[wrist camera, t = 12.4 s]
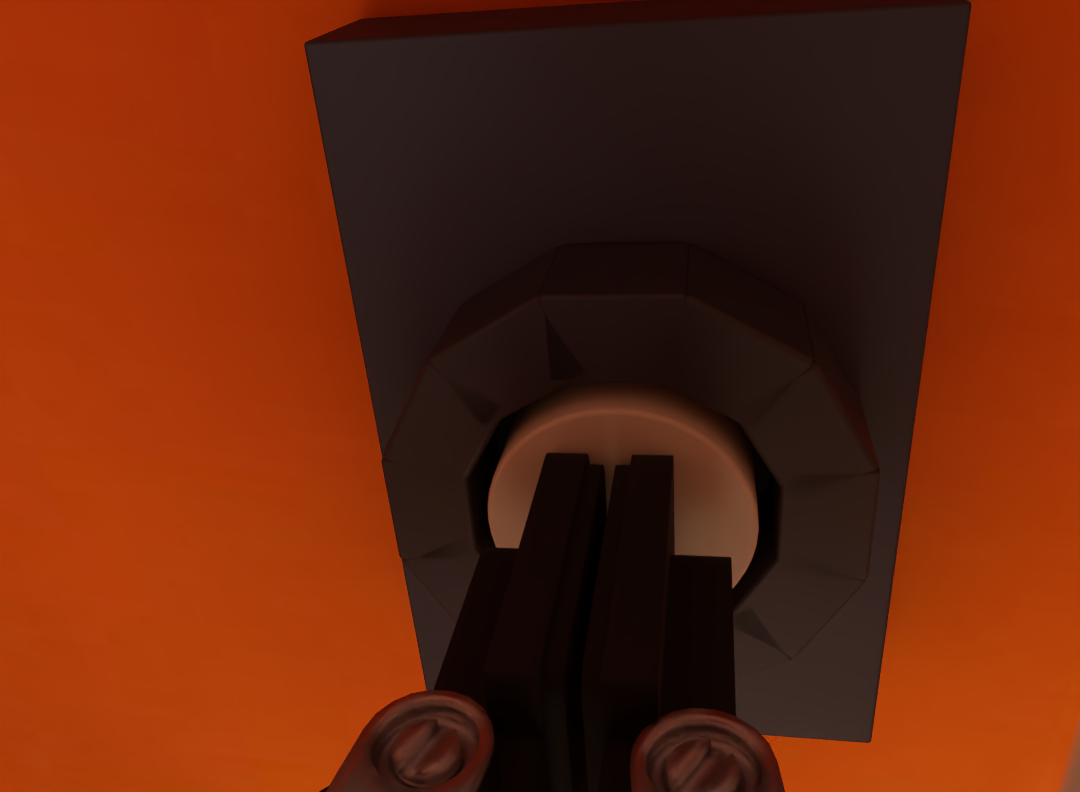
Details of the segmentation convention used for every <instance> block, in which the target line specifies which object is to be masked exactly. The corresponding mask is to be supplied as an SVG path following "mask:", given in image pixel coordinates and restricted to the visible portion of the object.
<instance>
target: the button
mask: <svg viewBox="0 0 1080 792" xmlns="http://www.w3.org/2000/svg"><path fill="white" fill-rule="evenodd" d="M547 453H587V454H588V455H589V460H590V464H596V465H604V470H605V486H606V506H607V513H608V507H609V501H610V495H611V489H612V483H613V477H614V470H615V466H616V465H630V463H631V457H632V455H673V457H674V532H675V555H695V556H719V557H731V560H732V589H733V588H734V586H735V585H736V584H737V583H738V582H739V580H740V579H741V577H742V576H743V574H744V573H745V572H746V570H747V568H748V566H749V564H750V562H751V560H752V558H753V555H754V552H755V548H756V545H757V539H758V531H759V522H758V504H757V490H756V475H755V460H754V447H753V444H752V443H751V441H750V440H749V438H748V437H747V435H746V434H745V432H744V431H743V429H742V427H741V426H740V424H739V423H738V422H736V421H734V420H732V419H730V418H728V417H727V416H725V415H723V414H721V413H719V412H717V411H715V410H713V409H711V408H709V407H707V406H705V405H703V404H701V403H699V402H697V401H695V400H693V399H691V398H689V397H687V396H685V395H683V394H681V393H679V392H677V391H675V390H673V389H672V388H670V387H668V386H666V385H664V384H657V383H569V384H567V385H565V386H563V387H562V388H560V389H558V390H556V391H554V392H552V393H550V394H548V395H546V396H544V397H542V398H541V399H539V400H537V401H535V402H533V403H531V404H529V405H527V406H525V407H523V408H521V409H520V410H518V412H517V414H516V416H515V419H514V422H513V424H512V427H511V430H510V432H509V435H508V438H507V441H506V443H505V446H504V449H503V452H502V454H501V457H500V460H499V463H498V465H497V468H496V471H495V474H494V476H493V479H492V483H491V487H490V490H489V497H488V521H489V525H490V530H491V534H492V537H493V540H494V543H495V545H496V547H497V548H519V544H520V541H521V538H522V534H523V531H524V527H525V524H526V520H527V517H528V514H529V510H530V507H531V503H532V500H533V496H534V493H535V489H536V486H537V483H538V479H539V476H540V472H541V469H542V465H543V462H544V459H545V456H546V454H547Z"/></svg>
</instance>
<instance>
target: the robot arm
mask: <svg viewBox="0 0 1080 792" xmlns="http://www.w3.org/2000/svg"><path fill="white" fill-rule="evenodd" d="M319 792H785V790H784V786H783V782H782V778H781V774H780V770H779V766H778V763H777V760H776V758H775V756H774V753H773V751H772V749H771V747H770V745H769V743H768V742H767V741H766V740H765V738H764V737H763V736H762V735H761V734H760V733H759V732H758V731H757V730H756V729H755V728H754V727H753V726H751V725H750V724H748V723H746V722H745V721H743V720H741V719H740V718H738V717H737V716H736V695H735V660H734V625H733V590H732V560H731V557H719V556H695V555H675V532H674V457H673V455H632V457H631V463H630V465H616V466H615V470H614V477H613V483H612V489H611V495H610V501H609V507H608V513H607V506H606V486H605V470H604V465H596V464H590V460H589V455H588V454H587V453H547V454H546V456H545V459H544V462H543V465H542V469H541V472H540V476H539V479H538V483H537V486H536V489H535V493H534V496H533V500H532V503H531V507H530V510H529V514H528V517H527V520H526V524H525V527H524V531H523V534H522V538H521V541H520V544H519V548H497V547H486V548H484V549H483V550H482V552H481V555H480V557H479V559H478V562H477V565H476V568H475V571H474V574H473V577H472V580H471V582H470V585H469V588H468V591H467V594H466V597H465V600H464V603H463V606H462V609H461V611H460V614H459V617H458V620H457V623H456V626H455V629H454V632H453V635H452V637H451V640H450V643H449V646H448V649H447V652H446V655H445V658H444V661H443V664H442V666H441V669H440V672H439V675H438V678H437V681H436V684H435V687H434V690H428V691H423V692H417V693H412V694H409V695H407V696H404V697H402V698H400V699H397V700H395V701H393V702H391V703H390V704H388V705H387V706H386V707H384V708H383V709H382V710H380V711H379V712H377V713H376V714H375V715H374V717H373V718H372V719H371V720H370V721H369V723H368V724H367V725H366V726H365V728H364V729H363V730H362V732H361V734H360V735H359V737H358V739H357V740H356V742H355V744H354V745H353V747H352V749H351V750H350V752H349V754H348V755H347V757H346V759H345V760H344V762H343V764H342V765H341V767H340V769H339V770H338V772H337V774H336V775H335V777H334V779H333V780H332V782H331V784H330V785H329V786H328V787H326V788H325V789H323V790H321V791H319Z"/></svg>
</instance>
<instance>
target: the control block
mask: <svg viewBox="0 0 1080 792" xmlns="http://www.w3.org/2000/svg"><path fill="white" fill-rule="evenodd" d="M970 12H971V3H970V2H969V1H967V0H644V1H629V2H613V3H598V4H583V5H567V6H552V7H537V8H521V9H506V10H491V11H475V12H460V13H445V14H429V15H414V16H399V17H383V18H368V19H360V20H358V21H355V22H353V23H350V24H348V25H346V26H343V27H341V28H338V29H336V30H334V31H331V32H329V33H326V34H324V35H321V36H319V37H317V38H314V39H312V40H309V41H307V42H305V51H306V57H307V62H308V67H309V72H310V78H311V83H312V88H313V93H314V99H315V104H316V109H317V115H318V120H319V125H320V130H321V136H322V141H323V146H324V151H325V157H326V162H327V167H328V173H329V178H330V183H331V188H332V194H333V199H334V204H335V210H336V215H337V220H338V225H339V231H340V236H341V241H342V246H343V252H344V257H345V262H346V268H347V273H348V278H349V283H350V289H351V294H352V299H353V304H354V310H355V315H356V320H357V326H358V331H359V336H360V341H361V347H362V352H363V357H364V363H365V368H366V373H367V378H368V384H369V389H370V394H371V399H372V405H373V410H374V415H375V421H376V426H377V431H378V436H379V442H380V447H381V452H382V457H383V458H382V467H383V472H384V477H385V482H386V488H387V493H388V498H389V503H390V509H391V514H392V519H393V524H394V529H395V535H396V540H397V545H398V550H399V556H400V557H401V558H402V563H403V568H404V574H405V579H406V584H407V589H408V595H409V600H410V605H411V610H412V616H413V621H414V626H415V632H416V637H417V642H418V647H419V653H420V658H421V663H422V669H423V674H424V679H425V684H426V690H427V691H428V690H434V687H435V684H436V681H437V678H438V675H439V672H440V669H441V666H442V664H443V661H444V658H445V655H446V652H447V649H448V646H449V643H450V640H451V637H452V635H453V632H454V629H455V626H456V623H457V620H458V617H459V614H460V611H461V609H462V606H463V603H464V600H465V597H466V594H467V591H468V588H469V585H470V582H471V580H472V577H473V574H474V571H475V568H476V565H477V562H478V559H479V557H480V555H481V552H482V550H483V549H484V548H486V547H496V545H495V543H494V540H493V537H492V534H491V530H490V525H489V521H488V497H489V490H490V487H491V483H492V479H493V476H494V474H495V471H496V468H497V465H498V463H499V460H500V457H501V454H502V452H503V449H504V446H505V443H506V441H507V438H508V435H509V432H510V430H511V427H512V424H513V422H514V419H515V416H516V414H517V412H518V410H520V409H521V408H523V407H525V406H527V405H529V404H531V403H533V402H535V401H537V400H539V399H541V398H542V397H544V396H546V395H548V394H550V393H552V392H554V391H556V390H558V389H560V388H562V387H563V386H565V385H567V384H569V383H657V384H664V385H666V386H668V387H670V388H672V389H673V390H675V391H677V392H679V393H681V394H683V395H685V396H687V397H689V398H691V399H693V400H695V401H697V402H699V403H701V404H703V405H705V406H707V407H709V408H711V409H713V410H715V411H717V412H719V413H721V414H723V415H725V416H727V417H728V418H730V419H732V420H734V421H736V422H738V423H739V424H740V426H741V427H742V429H743V431H744V432H745V434H746V435H747V437H748V438H749V440H750V441H751V443H752V444H753V447H754V460H755V475H756V490H757V504H758V522H759V531H758V539H757V545H756V548H755V552H754V555H753V558H752V560H751V562H750V564H749V566H748V568H747V570H746V572H745V573H744V574H743V576H742V577H741V579H740V580H739V582H738V583H737V584H736V585H735V586H734V588H733V589H732V590H733V625H734V660H735V695H736V716H737V717H738V718H740V719H741V720H743V721H745V722H746V723H748V724H750V725H751V726H753V727H754V728H755V729H756V730H757V731H758V732H759V733H760V734H761V735H772V736H785V737H798V738H812V739H825V740H838V741H852V742H865V743H869V742H871V738H872V730H873V723H874V716H875V708H876V701H877V694H878V686H879V679H880V672H881V664H882V657H883V650H884V642H885V635H886V628H887V620H888V613H889V606H890V598H891V591H892V584H893V576H894V569H895V562H896V554H897V547H898V540H899V532H900V525H901V518H902V510H903V503H904V496H905V488H906V481H907V474H908V466H909V459H910V452H911V444H912V437H913V430H914V422H915V415H916V408H917V400H918V393H919V386H920V378H921V371H922V364H923V356H924V349H925V342H926V334H927V327H928V320H929V312H930V305H931V298H932V290H933V283H934V276H935V268H936V261H937V254H938V246H939V239H940V232H941V225H942V217H943V210H944V203H945V195H946V188H947V181H948V173H949V166H950V159H951V151H952V144H953V137H954V129H955V122H956V115H957V107H958V100H959V93H960V85H961V78H962V71H963V63H964V56H965V49H966V41H967V34H968V27H969V19H970Z"/></svg>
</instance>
